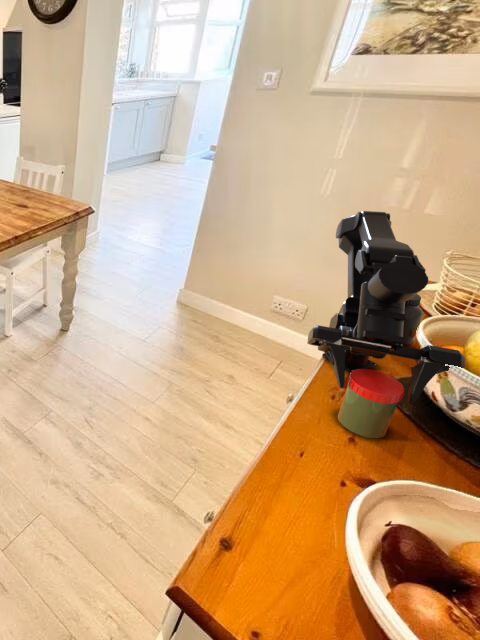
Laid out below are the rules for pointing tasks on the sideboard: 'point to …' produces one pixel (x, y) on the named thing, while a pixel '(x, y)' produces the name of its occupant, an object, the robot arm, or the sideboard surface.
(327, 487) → the sideboard surface
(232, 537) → the sideboard surface
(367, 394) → the lid
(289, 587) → the sideboard surface
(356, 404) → the jam jar
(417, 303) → the supplement bottle
